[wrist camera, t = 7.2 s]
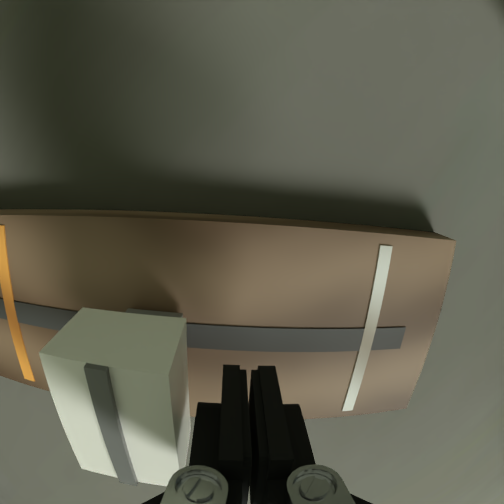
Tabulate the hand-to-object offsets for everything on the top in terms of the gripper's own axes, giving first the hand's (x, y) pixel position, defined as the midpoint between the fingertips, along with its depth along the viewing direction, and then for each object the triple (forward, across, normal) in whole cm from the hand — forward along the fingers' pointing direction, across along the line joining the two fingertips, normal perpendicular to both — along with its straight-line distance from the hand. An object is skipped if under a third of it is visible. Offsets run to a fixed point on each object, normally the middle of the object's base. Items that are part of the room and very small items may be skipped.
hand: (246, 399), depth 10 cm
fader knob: (+4, +4, 0) cm, 5 cm away
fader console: (+6, +5, 0) cm, 8 cm away
